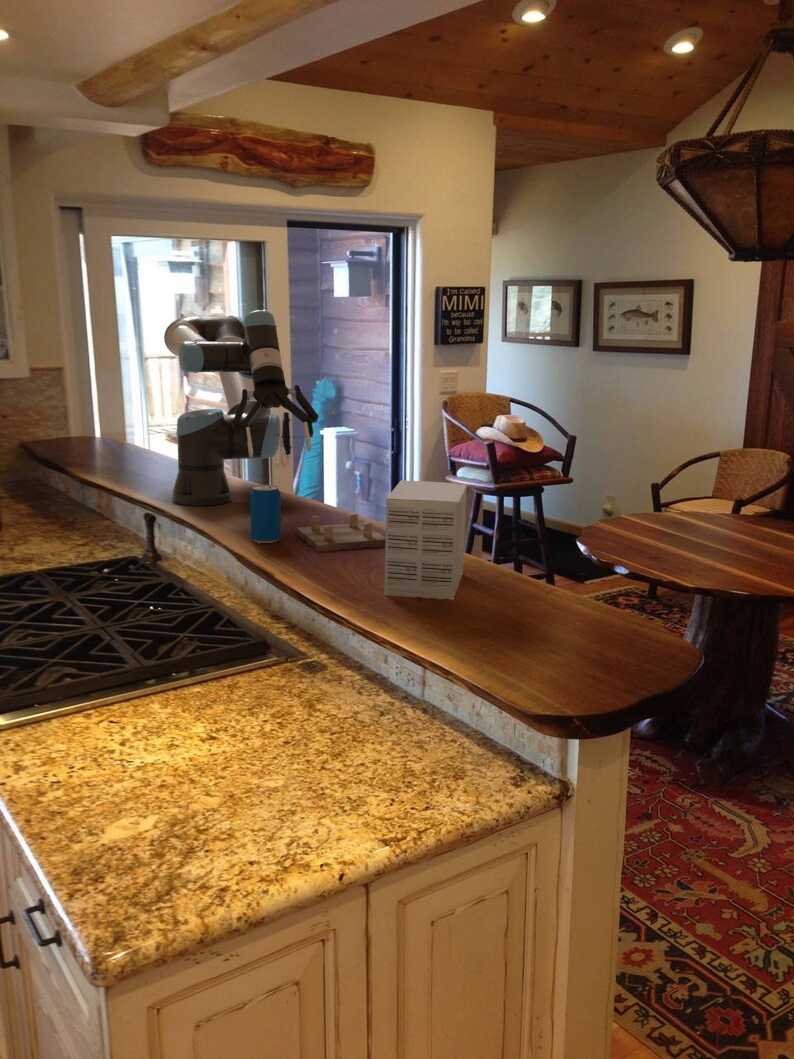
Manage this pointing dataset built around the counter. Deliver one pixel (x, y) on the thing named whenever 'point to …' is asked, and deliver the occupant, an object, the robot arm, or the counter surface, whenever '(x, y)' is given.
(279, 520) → the beverage can
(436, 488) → the supplement box
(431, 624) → the counter surface
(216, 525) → the counter surface
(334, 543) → the peg stand
